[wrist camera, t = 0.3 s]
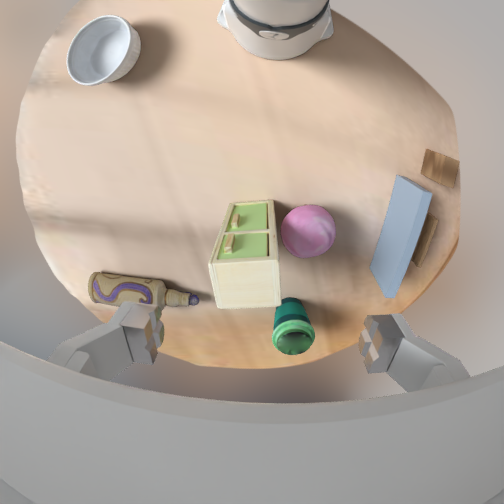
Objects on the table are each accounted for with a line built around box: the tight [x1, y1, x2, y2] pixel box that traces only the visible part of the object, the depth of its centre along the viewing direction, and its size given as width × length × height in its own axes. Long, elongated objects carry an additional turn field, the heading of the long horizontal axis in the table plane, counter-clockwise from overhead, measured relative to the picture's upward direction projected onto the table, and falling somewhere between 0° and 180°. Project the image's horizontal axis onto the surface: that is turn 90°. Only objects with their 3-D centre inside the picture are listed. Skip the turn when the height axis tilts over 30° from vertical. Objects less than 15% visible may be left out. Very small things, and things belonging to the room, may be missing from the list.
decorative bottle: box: [88, 272, 199, 311], centre depth 56 cm, size 26×8×7 cm, turn 86°
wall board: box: [370, 175, 438, 298], centre depth 44 cm, size 20×8×10 cm, turn 174°
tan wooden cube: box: [421, 149, 459, 188], centre depth 39 cm, size 5×4×7 cm
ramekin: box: [67, 15, 141, 86], centre depth 31 cm, size 13×13×7 cm
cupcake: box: [280, 205, 336, 258], centre depth 44 cm, size 9×9×10 cm
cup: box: [272, 297, 315, 355], centre depth 53 cm, size 8×8×12 cm
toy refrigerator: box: [208, 200, 282, 309], centre depth 40 cm, size 8×7×21 cm
